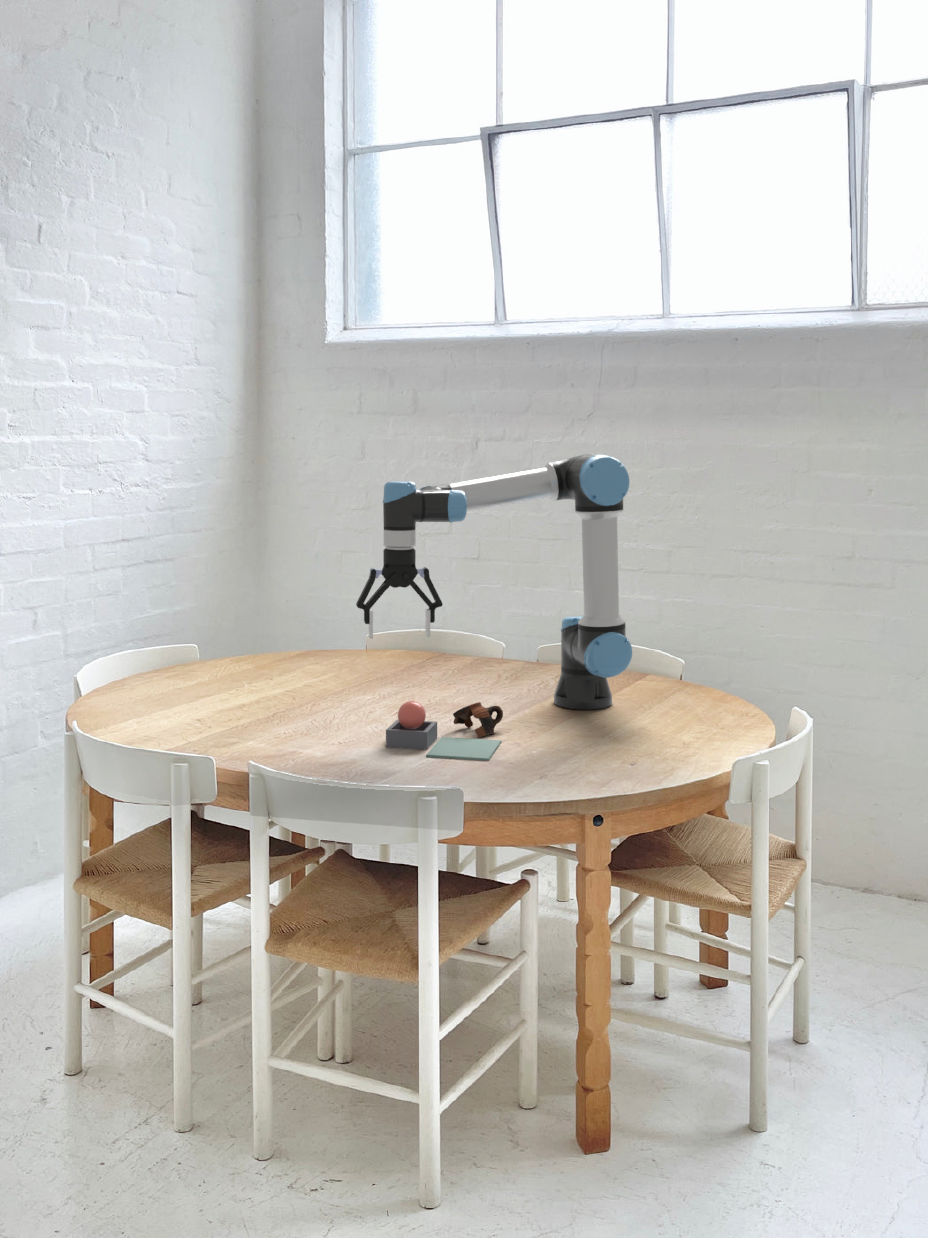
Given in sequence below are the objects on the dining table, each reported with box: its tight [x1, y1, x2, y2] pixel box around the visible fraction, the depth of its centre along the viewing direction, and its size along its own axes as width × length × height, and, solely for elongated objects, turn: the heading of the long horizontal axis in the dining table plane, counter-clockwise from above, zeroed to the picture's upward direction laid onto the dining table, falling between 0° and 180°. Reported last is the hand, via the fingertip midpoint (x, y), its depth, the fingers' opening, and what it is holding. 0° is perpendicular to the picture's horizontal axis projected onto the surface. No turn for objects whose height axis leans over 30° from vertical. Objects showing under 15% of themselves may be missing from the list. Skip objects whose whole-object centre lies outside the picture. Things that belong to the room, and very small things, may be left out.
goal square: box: [425, 736, 502, 761], centre depth 258 cm, size 14×15×1 cm
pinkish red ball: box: [397, 700, 427, 729], centre depth 262 cm, size 6×6×6 cm
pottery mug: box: [452, 701, 504, 739], centre depth 273 cm, size 12×10×8 cm
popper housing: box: [385, 719, 438, 750], centre depth 263 cm, size 10×10×4 cm
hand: (399, 637), depth 273 cm, fingers open, 13 cm apart
